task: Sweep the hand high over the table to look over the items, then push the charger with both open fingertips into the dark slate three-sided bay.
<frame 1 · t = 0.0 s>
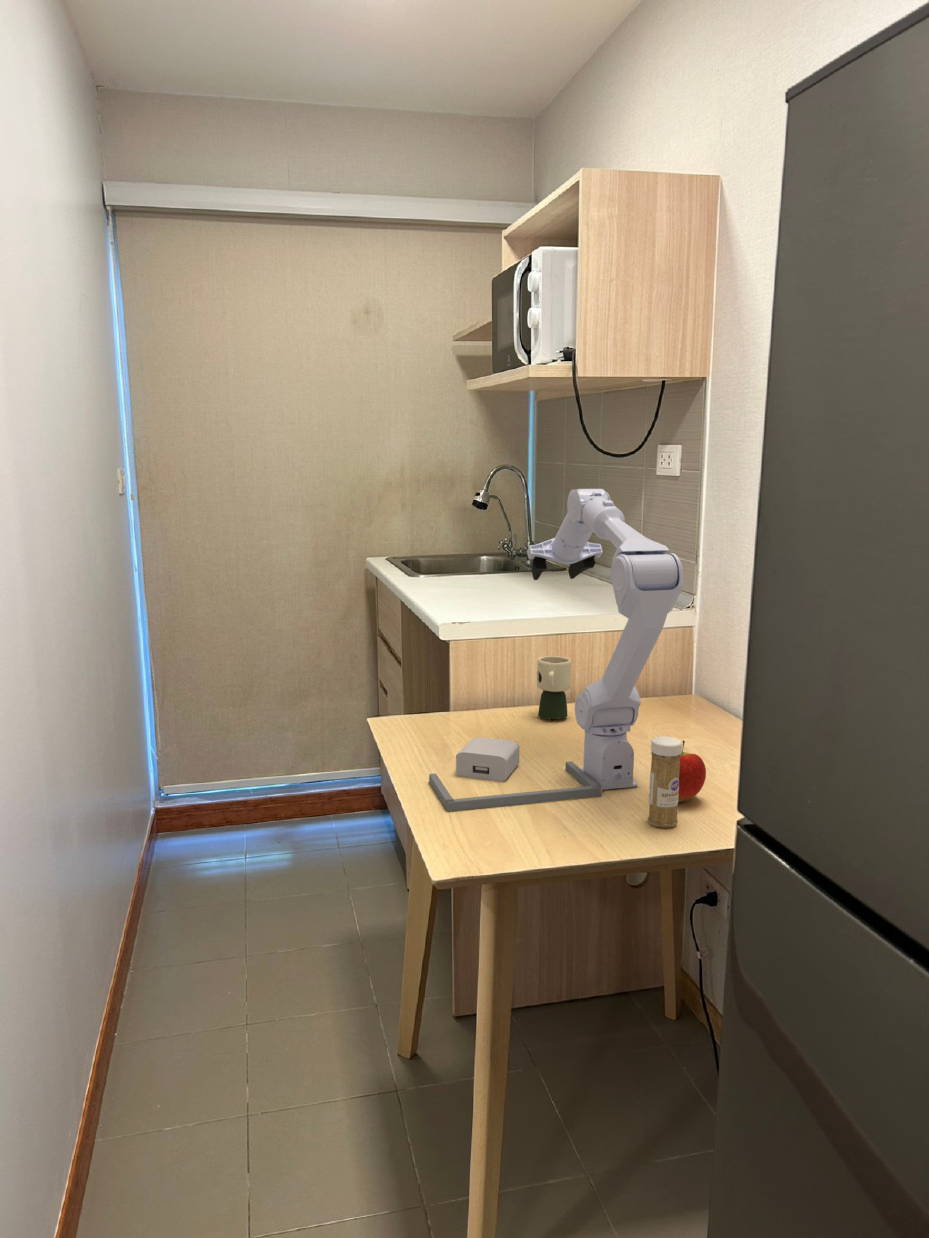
hand: (552, 575, 177), 32 cm above the table, tool tilted 50°, fingers open, 7 cm apart
sprinkles bottle: (662, 824, 138), on the table
charger: (492, 767, 163), on the table
apple: (678, 800, 147), on the table
character mug: (552, 719, 192), on the table
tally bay: (511, 786, 152), on the table
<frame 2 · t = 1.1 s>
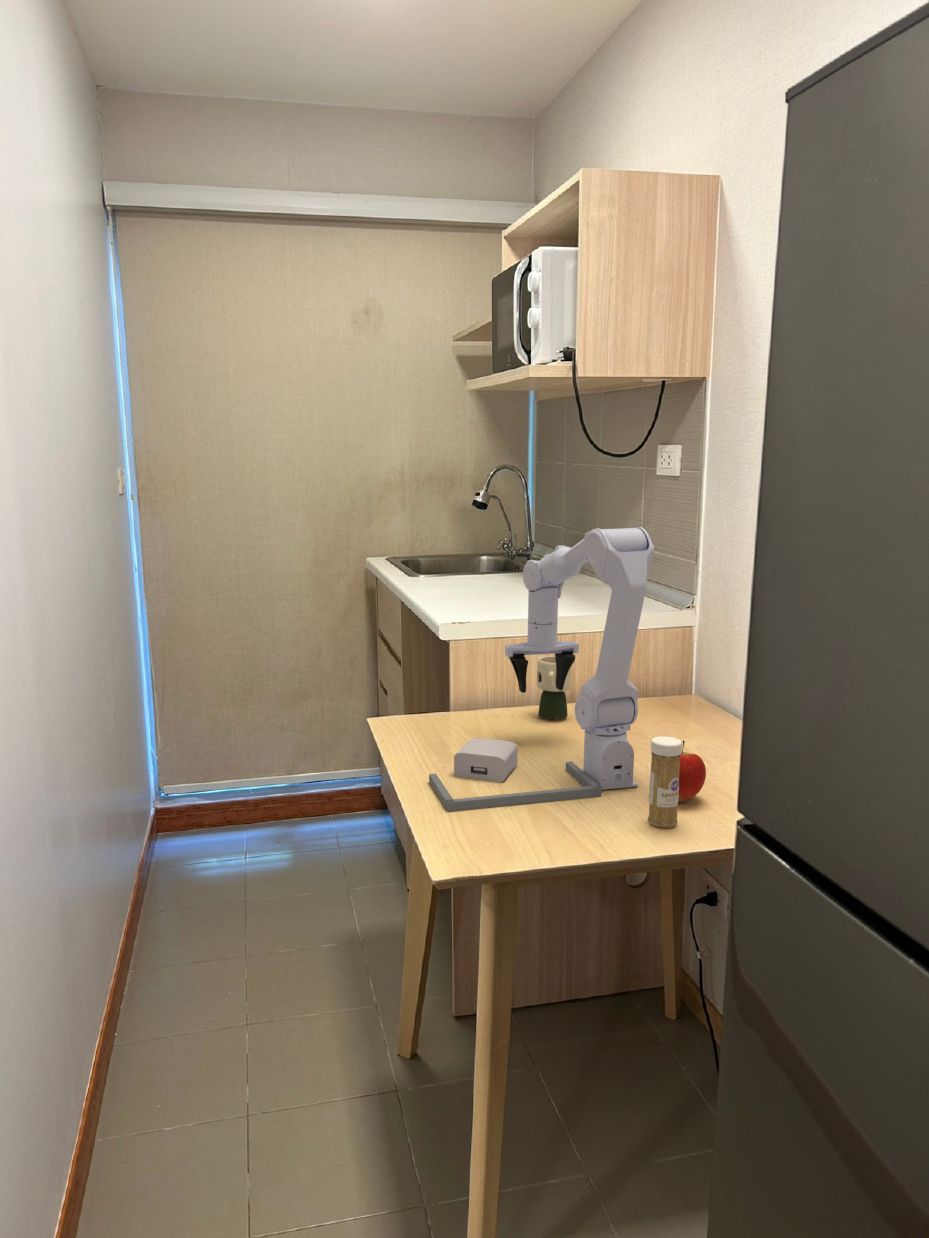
hand: (541, 690, 175), 10 cm above the table, tool pointing down, fingers open, 7 cm apart
nothing on the table moved.
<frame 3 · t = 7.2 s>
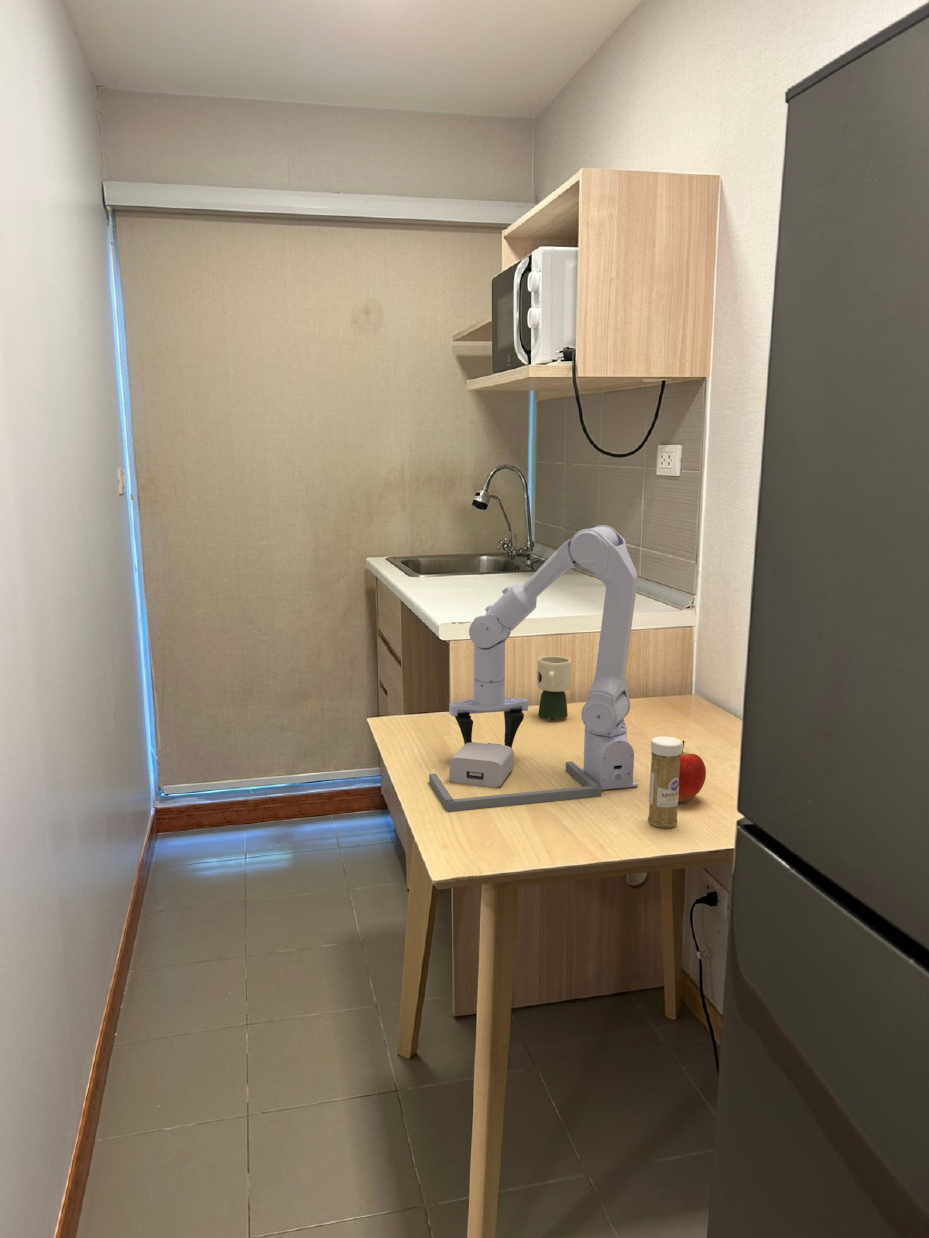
hand: (488, 749, 165), 2 cm above the table, tool pointing down, fingers open, 7 cm apart
charger: (486, 772, 160), on the table, touching gripper
everything else where it was.
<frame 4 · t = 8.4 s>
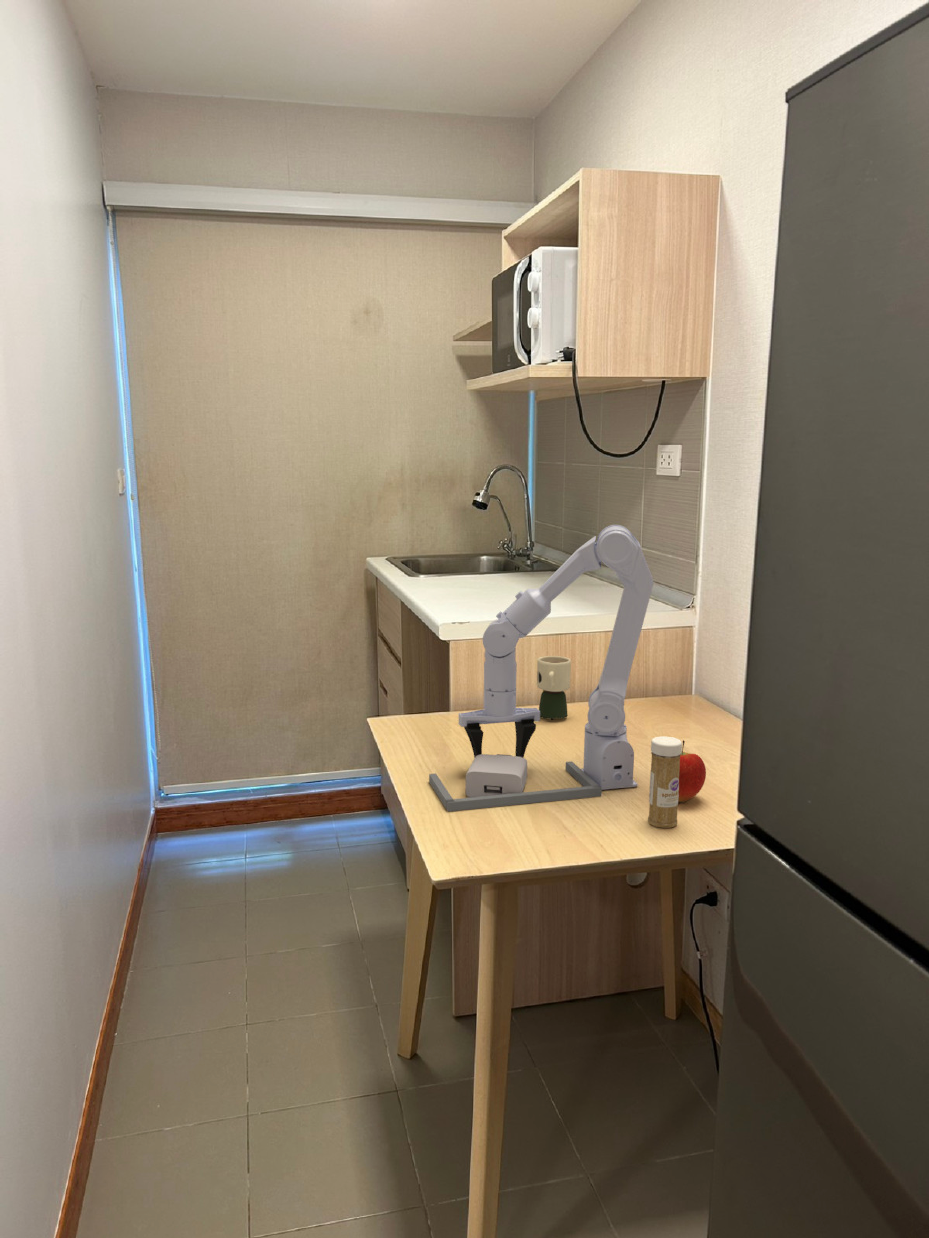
hand: (498, 761, 159), 2 cm above the table, tool pointing down, fingers open, 7 cm apart
charger: (499, 784, 154), on the table, touching gripper
everything else where it was.
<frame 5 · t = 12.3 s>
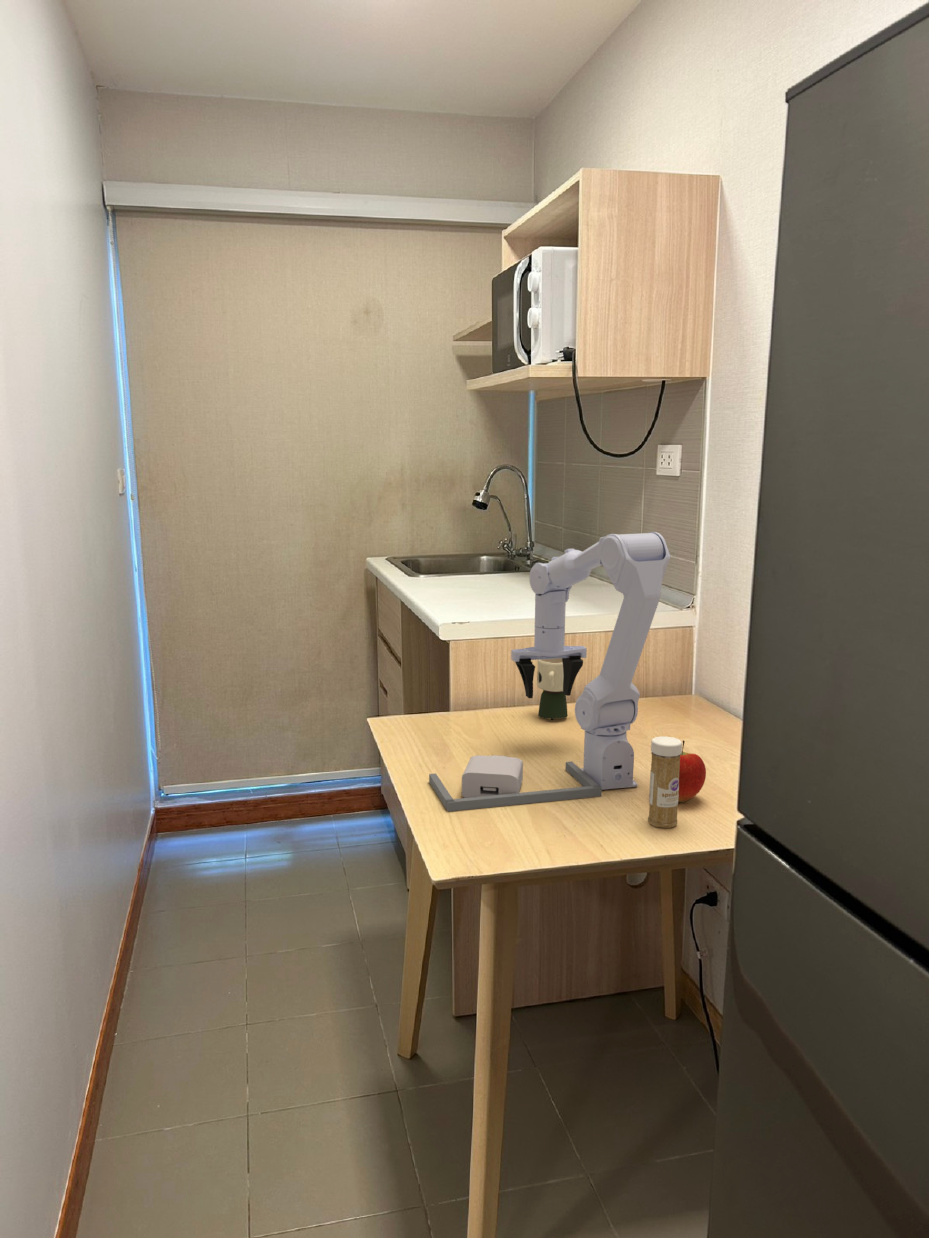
hand: (548, 695, 171), 10 cm above the table, tool pointing down, fingers open, 7 cm apart
charger: (495, 785, 154), on the table
everything else where it was.
at the end: charger inside the target area on the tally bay (3.3 cm from its centre), point -0.5 cm above the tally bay's base; charger tilted 0° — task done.
